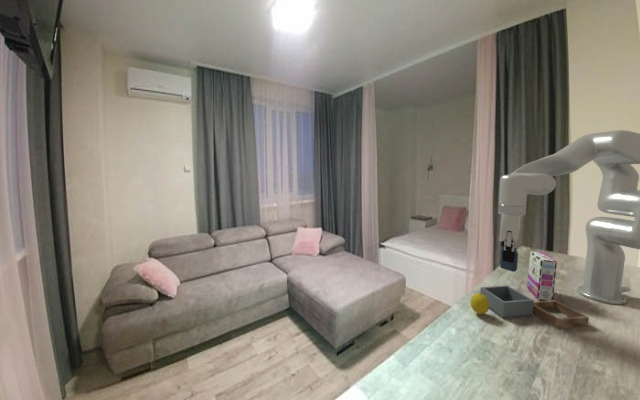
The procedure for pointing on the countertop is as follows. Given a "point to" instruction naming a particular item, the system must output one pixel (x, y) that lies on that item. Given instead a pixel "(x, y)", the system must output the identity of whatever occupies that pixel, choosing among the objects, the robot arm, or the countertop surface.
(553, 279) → the candy bar box
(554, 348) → the countertop surface
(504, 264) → the vaping device
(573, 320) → the brown wooden square frame
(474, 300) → the lemon
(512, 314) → the bin
